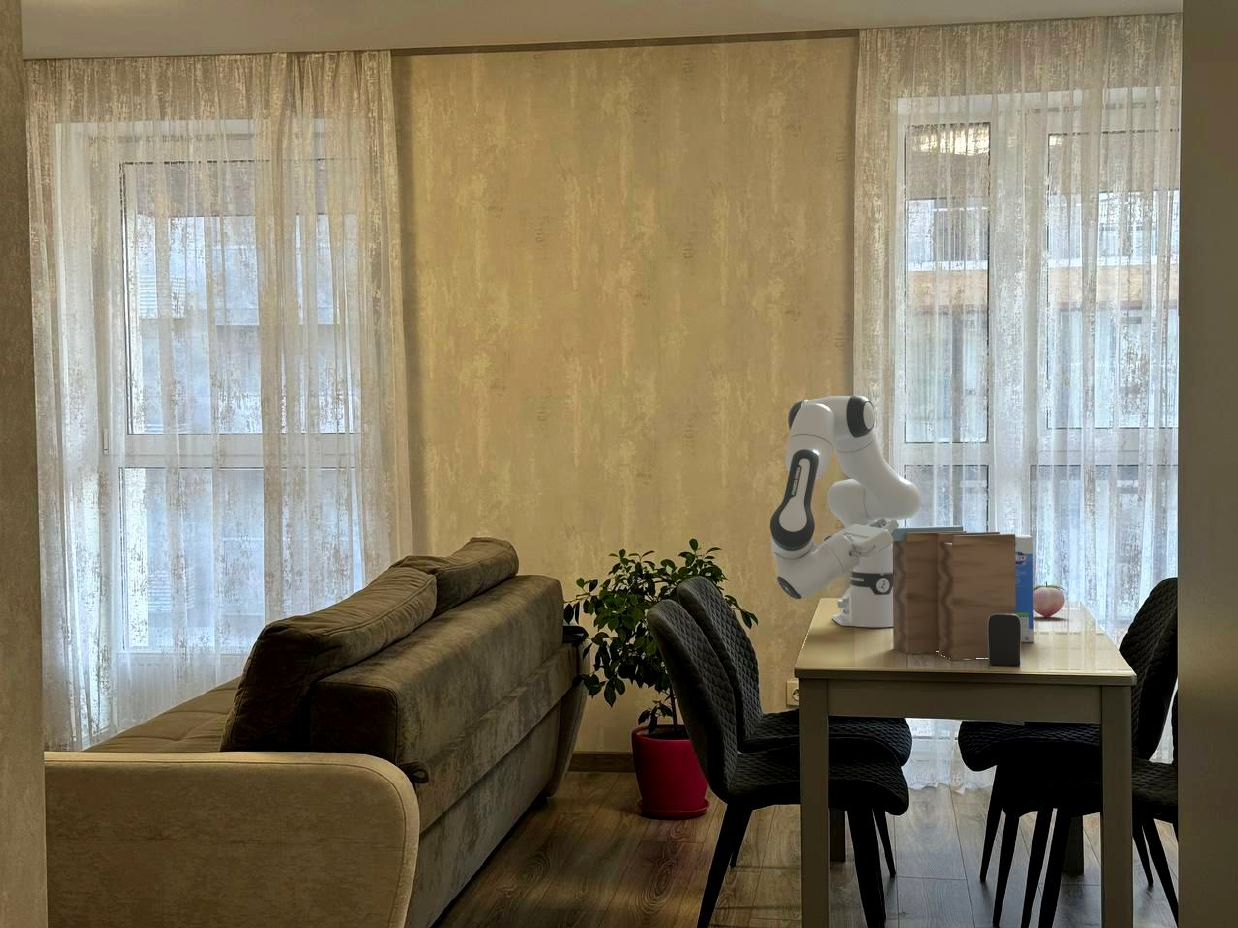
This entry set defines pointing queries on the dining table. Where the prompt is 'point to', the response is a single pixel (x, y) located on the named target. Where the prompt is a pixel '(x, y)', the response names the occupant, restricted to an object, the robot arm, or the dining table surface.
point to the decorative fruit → (1047, 599)
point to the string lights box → (1024, 585)
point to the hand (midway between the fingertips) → (890, 521)
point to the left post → (916, 592)
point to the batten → (921, 530)
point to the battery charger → (1004, 639)
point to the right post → (973, 589)
